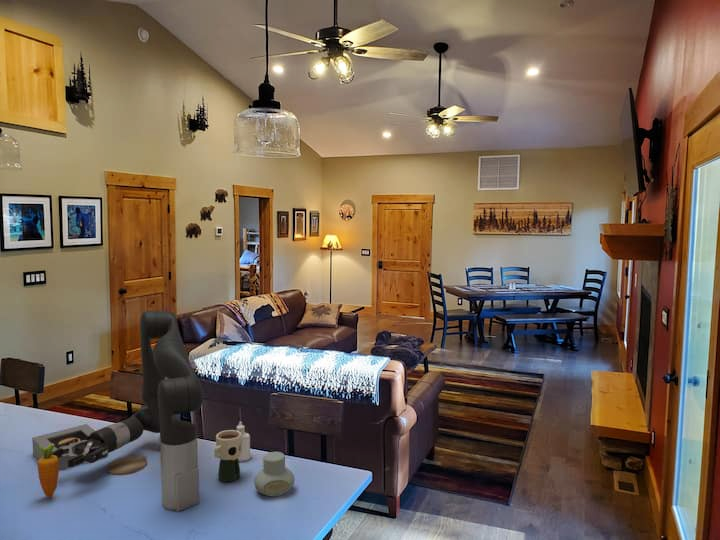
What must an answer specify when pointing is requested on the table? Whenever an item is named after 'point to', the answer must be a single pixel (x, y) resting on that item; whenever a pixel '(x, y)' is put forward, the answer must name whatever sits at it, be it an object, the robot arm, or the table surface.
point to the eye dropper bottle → (244, 443)
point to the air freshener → (274, 475)
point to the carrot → (48, 470)
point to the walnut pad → (127, 465)
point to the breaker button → (67, 440)
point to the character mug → (228, 454)
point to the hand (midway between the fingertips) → (58, 460)
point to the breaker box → (56, 437)
